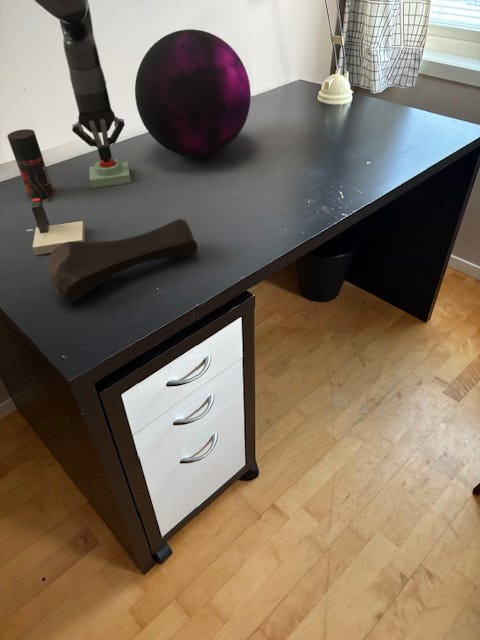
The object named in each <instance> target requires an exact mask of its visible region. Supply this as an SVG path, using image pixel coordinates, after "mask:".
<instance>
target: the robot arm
mask: <svg viewBox="0 0 480 640" xmlns="http://www.w3.org/2000/svg"><path fill="white" fill-rule="evenodd" d="M33 1H34V2H35V3H36V4H38V5H39V6H40V7H41V8H43V9H44V10H45V11H46V12H47V13H48V14H50V15H51V16H53V17H54V18H56V19H57V20H59V25H60V28H61V31H62V36H63V51H64V55H65V59H66V63H67V66H68V71H69V79H70V83H71V87H72V91H73V95H74V99H75V102H76V107H77V110H78V118H77V122H75V123H73V124H72V128H71V131H72V132H73V133H74V134H75V135H76V136H78V137H79V138H80V139H81V140H82V141H83V142H85V144H86V145H88V146H89V147H95V148H96V149H97V152H98V156H99V159H100V160H103V161H104V162H109V161H110V160H109V159H111V158H112V152H111V147H110V146H112V145H114V144H116V143H117V141H118V139H119V137H120V135H121V133H122V131H123V130H124V127H125V126H126V125H125V119H123V118H119V117H117V116H116V115H115V114H116V113H115V112H114V111H113V109H112V105H111V101H110V97H109V92H108V87H107V86H108V85H107V80H106V77H105V74H104V70H103V67H102V64H101V59H100V54H99V51H98V46H97V43H96V39H95V35H94V27H93V21H92V14H91V8H90V3H89V0H33ZM113 123H114V124H113ZM112 125H114V129H113V131H112V133H111V134H110V136H109V135H108V134H109V133H108V132H109V131H110V129H111V128H112ZM84 128H85V129H86V130H87V131H88V132H89V133H91V134H92V136H93V137H92V136H91V135H89V134H88V133H87V132H86V131H85V130H84ZM100 133H101V135H100ZM101 136H102V137H101Z"/></svg>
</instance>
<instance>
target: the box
mask: <svg viewBox="0 0 480 640" xmlns="http://www.w3.org/2000/svg"><path fill="white" fill-rule="evenodd" d="M113 159H114V162H115V165H114V166H112V167H107V168H104V167H101V166H100V160H98V161H97V162H95V163H94V165H93V166H89V168H88V169H89V171H88V172H89V175H88V181H89V184H90V185H89V186H90V188H91V189H95V188H102V187H109V186H118V185H125V184H131V183H132V179H131V172H130V166H129V162H128V161H126V162H121V160H119V159H116V158H113Z"/></svg>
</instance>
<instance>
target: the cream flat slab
mask: <svg viewBox="0 0 480 640" xmlns="http://www.w3.org/2000/svg"><path fill="white" fill-rule="evenodd" d="M33 231H34V229H31V228H30V229H26V230H25V232H26V233H27V232H33ZM66 242H86V226H85V223H84V220H80V221H73V222H66V223H59V224H51V225H49V229H48V232H44V233H40V230H39V228H38V227H35V231H34V237H33V243H32V250H33V253H34V255H35V256H41V255H46V254H47V255H48V254H52V253H53V251H54V250H55V249H56V248H57V247H58V246H60V245H62V244H63V243H66Z"/></svg>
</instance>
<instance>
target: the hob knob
mask: <svg viewBox="0 0 480 640" xmlns="http://www.w3.org/2000/svg"><path fill="white" fill-rule="evenodd" d="M30 208H31V211H32V213H33V217H34V220H35V222H36V225H37V228H39V230H40V233H44V232H48V229H49V226H50V222H49V219H48V216H47V213H46V211H45V206H44V205H43V200H41V199H40V198H36V199H33V200H32V201H31V207H30Z"/></svg>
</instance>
